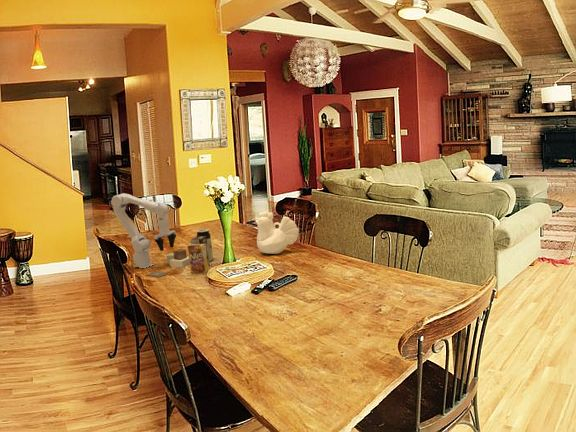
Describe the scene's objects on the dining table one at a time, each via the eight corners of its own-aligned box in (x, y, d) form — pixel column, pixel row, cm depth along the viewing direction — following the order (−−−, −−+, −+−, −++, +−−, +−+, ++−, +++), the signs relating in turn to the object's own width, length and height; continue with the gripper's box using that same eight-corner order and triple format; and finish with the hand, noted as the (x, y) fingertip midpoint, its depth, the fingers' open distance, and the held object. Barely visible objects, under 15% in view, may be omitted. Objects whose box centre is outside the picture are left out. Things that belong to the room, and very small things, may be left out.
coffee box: (204, 268, 298) (201, 239, 295) (193, 268, 299) (189, 239, 296) (210, 263, 307) (206, 235, 304) (199, 263, 308) (195, 236, 305)
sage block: (167, 264, 315) (166, 255, 314) (171, 261, 319) (170, 253, 318) (175, 263, 313) (174, 255, 312) (179, 261, 318) (178, 253, 317)
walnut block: (174, 259, 308) (173, 250, 307) (180, 257, 312) (179, 248, 311) (180, 260, 305) (179, 251, 304) (186, 257, 309) (185, 249, 308)
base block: (170, 267, 308) (169, 260, 307) (180, 263, 315) (179, 256, 315) (182, 268, 303) (181, 261, 303) (192, 263, 311) (191, 257, 310)
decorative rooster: (253, 256, 314) (249, 214, 310) (265, 249, 328) (261, 209, 324) (293, 257, 304) (289, 213, 300) (303, 250, 318) (299, 208, 314)
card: (145, 275, 292) (145, 274, 292) (155, 272, 298) (155, 271, 298) (158, 277, 287) (158, 276, 287) (168, 273, 292) (168, 273, 292)
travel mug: (196, 262, 312) (193, 231, 309) (203, 258, 319) (200, 228, 316) (208, 262, 309) (205, 231, 306) (215, 258, 316) (212, 228, 313)
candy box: (190, 273, 290) (186, 245, 287) (193, 270, 294) (190, 243, 291) (205, 273, 287) (202, 245, 284) (208, 270, 291) (205, 243, 288)
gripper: (158, 228, 297) (162, 252, 300) (178, 223, 309) (181, 246, 311) (150, 227, 302) (153, 251, 304) (169, 222, 313) (172, 245, 315)
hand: (166, 248), depth 308 cm, fingers open, 7 cm apart
